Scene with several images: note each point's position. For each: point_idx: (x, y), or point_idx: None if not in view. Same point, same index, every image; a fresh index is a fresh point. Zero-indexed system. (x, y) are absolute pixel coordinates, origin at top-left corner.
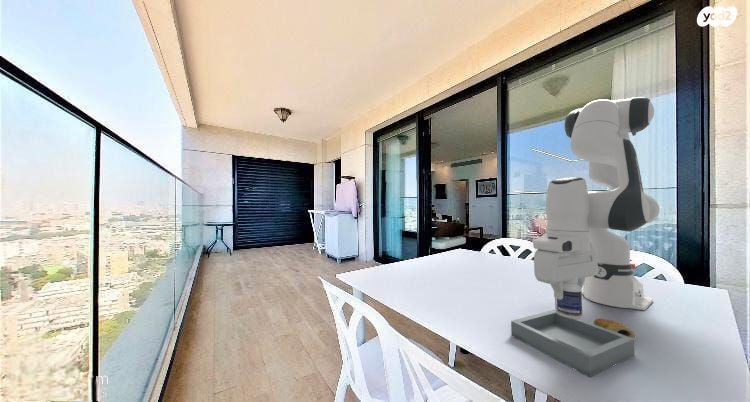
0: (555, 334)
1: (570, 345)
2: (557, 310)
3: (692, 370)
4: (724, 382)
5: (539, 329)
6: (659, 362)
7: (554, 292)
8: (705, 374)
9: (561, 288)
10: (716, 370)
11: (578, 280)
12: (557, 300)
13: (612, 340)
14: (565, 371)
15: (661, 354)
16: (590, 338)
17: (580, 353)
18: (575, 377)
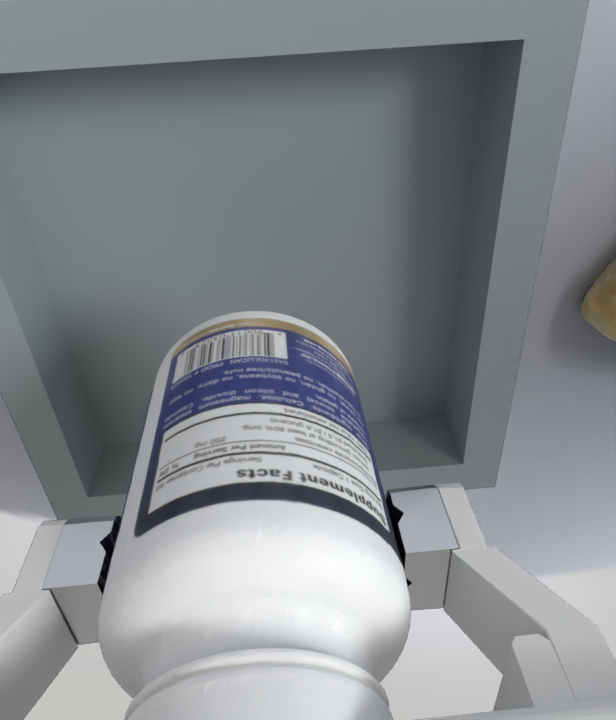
0: (265, 182)
1: (64, 445)
2: (154, 386)
3: (532, 519)
4: (523, 565)
5: (214, 69)
6: (498, 470)
7: (25, 572)
8: (536, 537)
9: (15, 714)
10: (605, 536)
11: (501, 692)
12: (136, 459)
13: (455, 400)
14: (7, 408)
15: (595, 444)
16: (433, 298)
17: (48, 498)
18: (19, 442)
